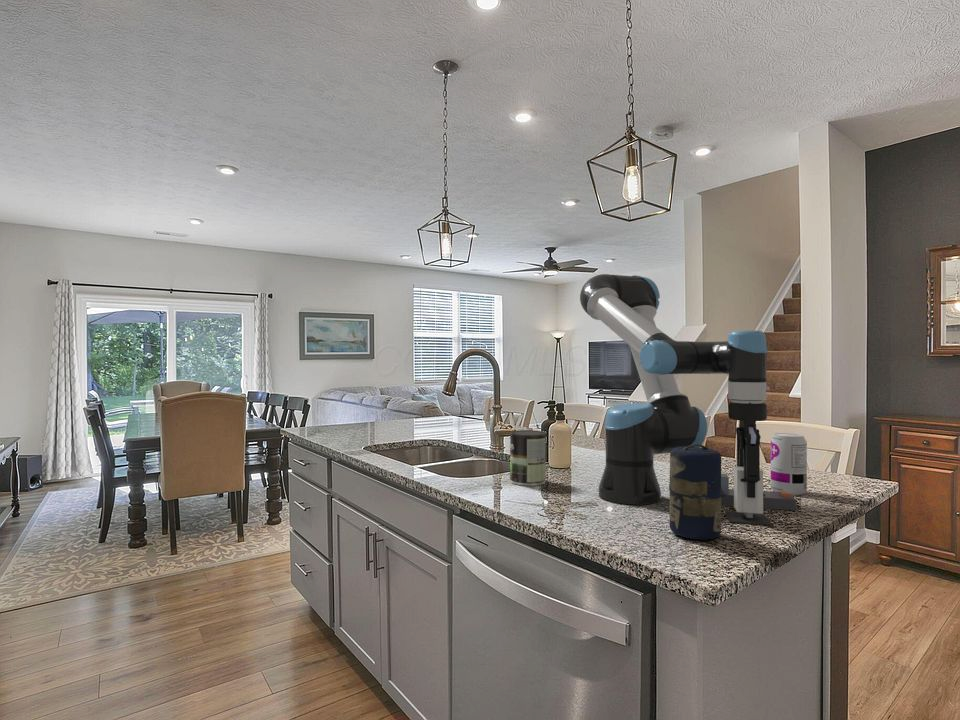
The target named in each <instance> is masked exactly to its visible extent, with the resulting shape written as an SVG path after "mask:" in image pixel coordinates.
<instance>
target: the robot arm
mask: <svg viewBox="0 0 960 720" xmlns="http://www.w3.org/2000/svg"><path fill="white" fill-rule="evenodd" d="M660 298H661V295H660V291H659V288H658V286H657V284H656V283H655V281H653V280H652V279H650V278H649V277H645V276H641V275H636V274H635V275H623V274H622V275H621V274H620V275H619V274H608V273H606V274H605V273H601V274H597V275H594V276H592V277H591V278H589V279H588V280H587V281H586V282H585V283H584V284H583V286H582V288H581V290H580V294H579V301H580V304H581V307H582V309H583V311H584V312H585V313H587V315H588V316H589V317H590V318H592V319H593V320H596V321H601V323H603V324H604V325H605V326H607V328H608V329H610V330H611V331H612V332H614V334H616V335H617V336H618V337H619V338H620V339H622V341H624V342H625V343H626V344H628V345H627V346H629V349H630V351H631V354H632V358H633V361H634V363H635V367H636V370H637V373H638V376H639V379H640V382H641V386H642V388H643V391H644V395H645V398H646V401H647V402H634V403H624V404H623V403H622V404H618V405H613V406H612V407H610V408H608V409H607V411H606V413H605V414H606V415H605V423H604V428H605V467H604V469H603V473H602V476H601V479H600V482H599V485H598V496H599V498H601V499H602V500H606V501H609V502H613V503H617V504H625V505H648V504H649V505H650V504H655V503H659V502H660V501H661V500H662V492H661V491H662V490H661V487H660V483H659V481H658V477H657V475H656V472H655V468H654V467H655V465H654V459H655V457H654V455H658V454H659V455H660V454H670V452H671V450H672V449H673V448H676V447H688V446H690V445H694V444H699V445H703V444H704V442H705V440H706V437H707V433H708V422H707V421H708V420H707V416H706V415H705V413H704V412H703V411H702V410H701V409H700V408H698V407H696V406H692V405H691V402H690V400H689V397H688V395H686V394H685V393H682V392H680V389H679V387H678V384H677V382H676V379H675V376H674V375H681V374H682V375H686V374H687V375H688V374H689V375H695V374H696V375H697V374H698V375H701V374H702V375H711V374H712V375H717V374H718V375H719V374H720V375H728V379H727V398H728V399H729V400H730V402H729V403H727V404H728V405H727V407H728V419H730V420H733V421H738V426H737V427H735V432H736V433H735V434H736V466H738V467H744V479H740V481H741V482H743V512H748V513H758V496H757V482H758V481H760V469H761V467H760V466H761V463H760V462H761V461H760V460H761V459H760V457H761V456H760V455H761V454H760V453H761V452H760V451H761V450H760V446H761V445H760V443H761V435H760V429H757V422H763V421H764V422H765V421H766V420H768V405H767V404H766V403H764V401H765V402H766V401H767V395H768V394H767V392H769V391H770V387H769V386H768V385H767V358H768V357H767V355H768V348H767V336H766V334H765V332H764V331H761V330H735V331H734V330H733V331H730V332H729V333H728V335H727V340H726V341H689V340H687V341H686V340H685V341H684V340H683V341H681V340H680V341H679V340H675V339H673V338H672V337H670V336H669V335H667V334H666V333H665V332H663V331H662V330H661V329H659V328H658V327H657V325H656V322H655V319H654V318H655V317H656V315H657V313H658V312H657V311H658V309H659V306H660V300H659V299H660ZM694 447H700V446H694Z"/></svg>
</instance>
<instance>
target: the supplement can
mask: <svg viewBox="0 0 960 720" xmlns="http://www.w3.org/2000/svg"><path fill="white" fill-rule="evenodd" d="M807 442H808V441H807V440H806V438H805V436H804V435H803V434H797V433H780V432H776V433H773V434H772V436H771V438H770V489H771V490H772V491H773V490H774V491H773V492H780V491H786V492H789V493H790V494H791V496H802V495H801V494H803V495H804V494H805V493H807V491H808V483H807V482H808V460H807V459H808V448H807V447H808V445H807Z"/></svg>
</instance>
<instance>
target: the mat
mask: <svg viewBox="0 0 960 720" xmlns="http://www.w3.org/2000/svg"><path fill="white" fill-rule="evenodd" d="M724 514H725V516H726V518H727V519H728V521H729V523H731V524H742V525H743V524H744V525H754V526H755V525H756V526H757V525H758V526H766V527H767V526H769V527H772V526H773V523H772V522H771V521H770V519H769V518H768V517H767V515H765V514H764V513H763V514H758V513H753V518H747V517H746V516H745V514H744V513H743V512H737V511H735V510H734V511H733V510H724Z"/></svg>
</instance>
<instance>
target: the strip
mask: <svg viewBox="0 0 960 720" xmlns="http://www.w3.org/2000/svg"><path fill="white" fill-rule="evenodd" d="M729 483H730V477H729V475H728V474H727V473H721V506H727V507H734V488H730V486H729V485H730V484H729ZM763 509H766V510H767V509H768V510H769V509H770V510H782V511H783V510H784V511H795V510H796V511H797V499H796V498H795V497H794V495H791V494H790V493H789V492H786V491H780V492H775V491H769V490H768V491H767V490H765V491H764V490H763Z"/></svg>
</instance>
